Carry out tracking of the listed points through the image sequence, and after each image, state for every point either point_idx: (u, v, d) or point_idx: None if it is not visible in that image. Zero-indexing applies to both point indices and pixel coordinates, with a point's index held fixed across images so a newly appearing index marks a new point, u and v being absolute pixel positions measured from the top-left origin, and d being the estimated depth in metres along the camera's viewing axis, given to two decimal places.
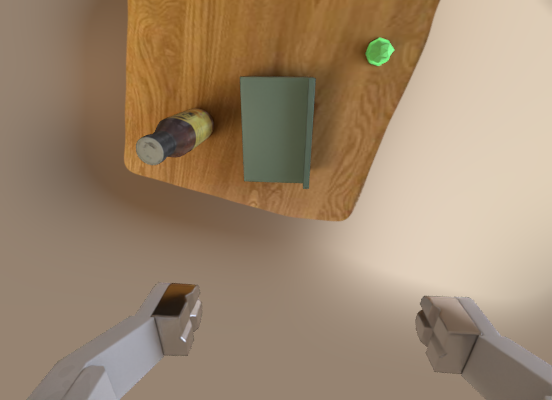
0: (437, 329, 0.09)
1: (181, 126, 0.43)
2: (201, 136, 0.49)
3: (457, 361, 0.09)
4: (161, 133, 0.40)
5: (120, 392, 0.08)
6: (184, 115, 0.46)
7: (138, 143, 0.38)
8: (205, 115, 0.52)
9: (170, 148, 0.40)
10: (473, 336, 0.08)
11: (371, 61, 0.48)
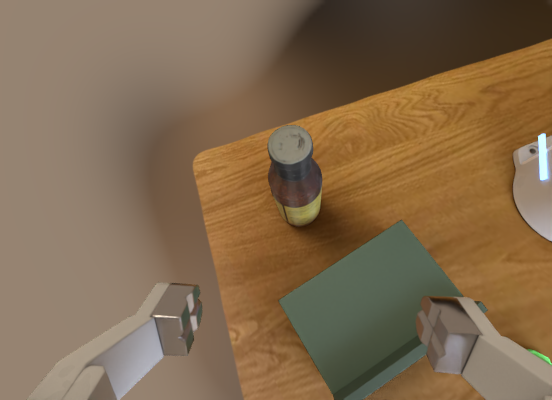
0: (437, 329, 0.09)
1: (318, 178, 0.31)
2: (305, 213, 0.35)
3: (457, 361, 0.09)
4: None
5: (120, 392, 0.08)
6: None
7: (291, 126, 0.25)
8: (319, 208, 0.40)
9: (300, 171, 0.26)
10: (473, 336, 0.08)
11: None
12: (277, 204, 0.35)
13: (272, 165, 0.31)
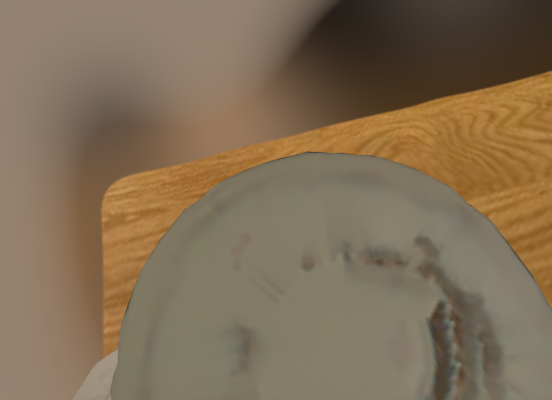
0: None
1: None
2: None
3: None
4: None
5: None
6: None
7: (349, 169, 0.03)
8: None
9: None
10: None
11: None
12: None
13: None
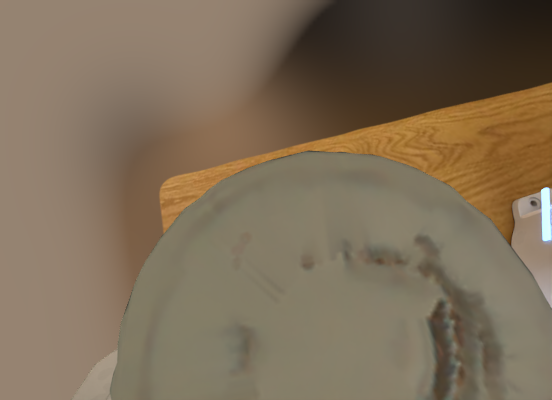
0: None
1: None
2: None
3: None
4: None
5: None
6: None
7: (349, 168, 0.03)
8: None
9: None
10: None
11: None
12: None
13: None
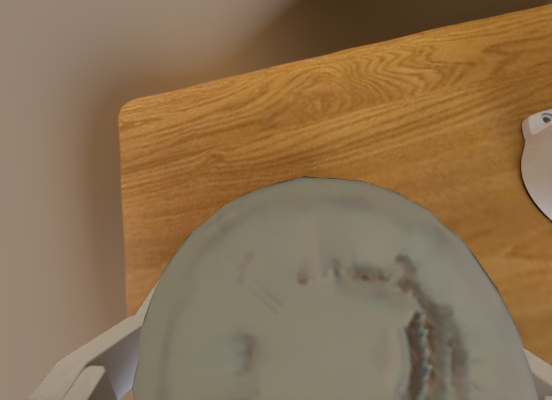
0: None
1: None
2: None
3: None
4: None
5: (120, 392, 0.08)
6: None
7: (340, 193, 0.03)
8: None
9: None
10: None
11: None
12: None
13: None
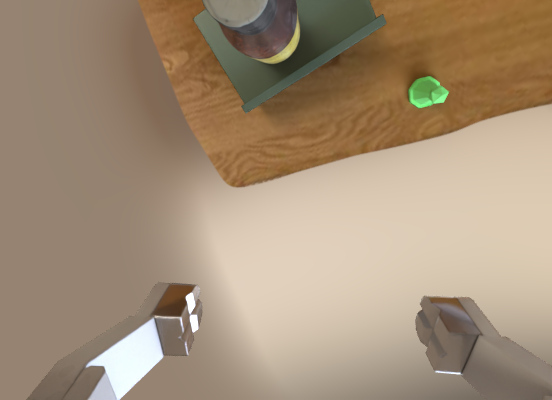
0: (437, 329, 0.09)
1: (290, 19, 0.21)
2: (274, 59, 0.27)
3: (457, 361, 0.09)
4: None
5: (120, 392, 0.08)
6: None
7: None
8: (298, 40, 0.30)
9: (257, 26, 0.18)
10: (473, 336, 0.08)
11: (412, 91, 0.40)
12: None
13: None
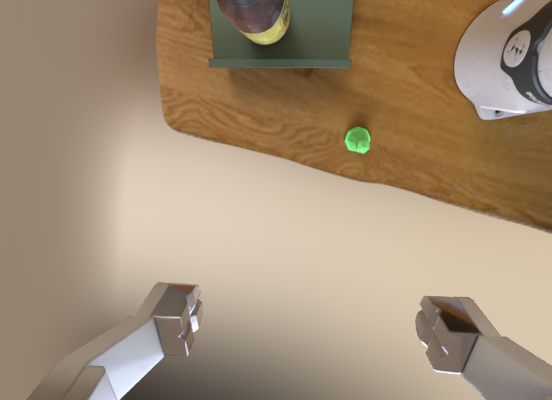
0: (437, 329, 0.09)
1: (271, 13, 0.25)
2: (251, 37, 0.30)
3: (457, 361, 0.09)
4: None
5: (120, 392, 0.08)
6: (285, 10, 0.28)
7: None
8: (280, 36, 0.34)
9: None
10: (473, 336, 0.08)
11: (349, 133, 0.47)
12: None
13: None
